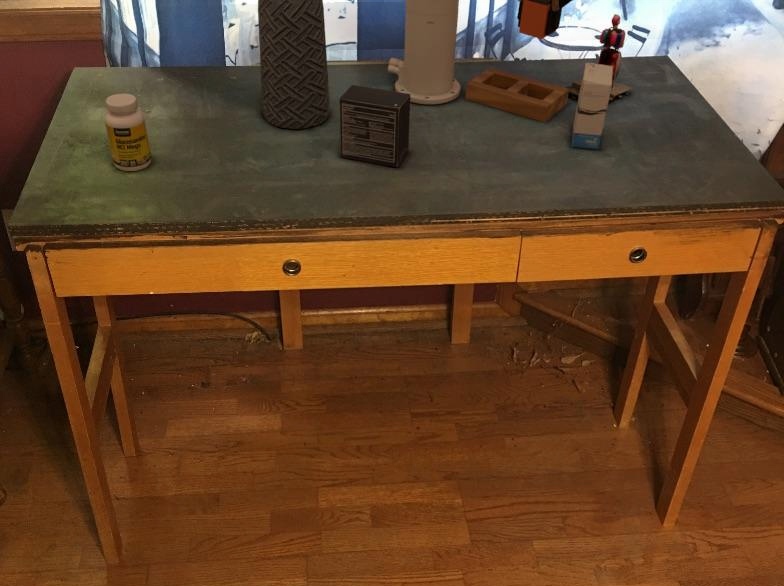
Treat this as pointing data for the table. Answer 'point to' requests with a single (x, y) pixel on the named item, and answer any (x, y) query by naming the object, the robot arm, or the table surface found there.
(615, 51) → the statue
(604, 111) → the ink box
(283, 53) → the vase
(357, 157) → the small box
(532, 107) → the wooden compartment tray
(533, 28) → the orange block
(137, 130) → the pill bottle
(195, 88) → the table surface
